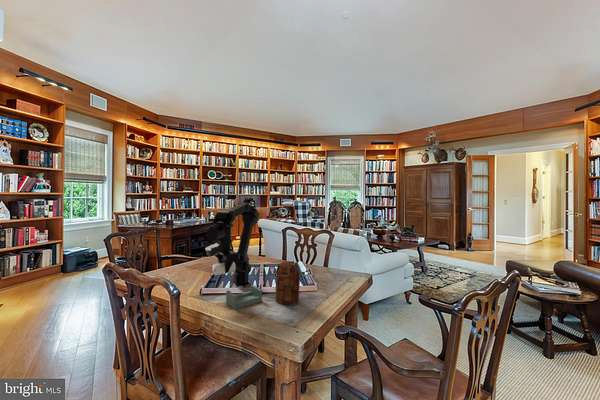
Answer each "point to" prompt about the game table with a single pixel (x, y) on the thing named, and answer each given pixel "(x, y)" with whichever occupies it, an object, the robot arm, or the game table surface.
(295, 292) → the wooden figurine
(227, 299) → the grey-green grooved block
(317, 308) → the game table surface
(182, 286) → the game table surface
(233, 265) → the roll
